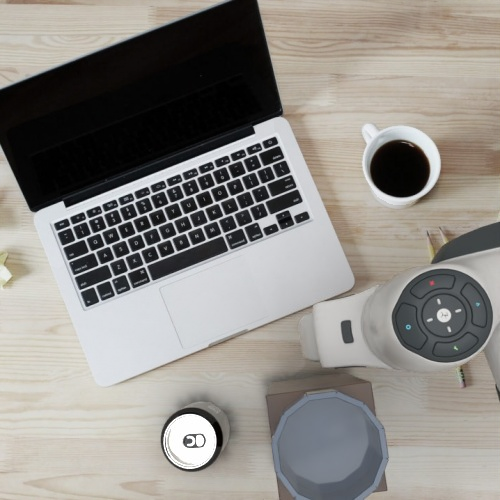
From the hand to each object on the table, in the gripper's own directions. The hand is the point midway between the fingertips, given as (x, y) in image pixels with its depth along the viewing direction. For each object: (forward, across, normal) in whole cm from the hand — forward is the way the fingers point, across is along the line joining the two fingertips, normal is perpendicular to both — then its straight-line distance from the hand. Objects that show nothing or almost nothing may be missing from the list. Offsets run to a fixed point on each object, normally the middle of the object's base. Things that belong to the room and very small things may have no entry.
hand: (386, 329), depth 81 cm
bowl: (-21, +10, +9) cm, 25 cm away
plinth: (+6, +10, +9) cm, 14 cm away
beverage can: (+6, +23, +9) cm, 25 cm away
